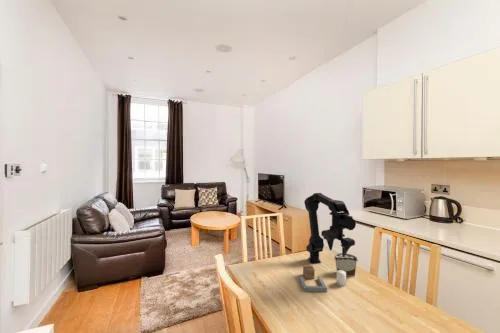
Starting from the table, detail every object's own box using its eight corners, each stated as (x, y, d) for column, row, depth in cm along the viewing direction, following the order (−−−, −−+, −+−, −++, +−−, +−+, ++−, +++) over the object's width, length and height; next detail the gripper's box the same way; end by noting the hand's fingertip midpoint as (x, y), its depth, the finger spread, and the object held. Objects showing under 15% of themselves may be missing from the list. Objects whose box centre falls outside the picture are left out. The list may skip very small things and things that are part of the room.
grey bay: (299, 279, 120) (299, 275, 120) (320, 279, 120) (320, 276, 120) (303, 291, 109) (303, 287, 109) (326, 291, 109) (326, 288, 109)
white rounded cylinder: (335, 281, 118) (335, 270, 118) (344, 281, 118) (344, 270, 118) (338, 286, 114) (338, 274, 113) (347, 286, 113) (347, 274, 113)
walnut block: (303, 274, 126) (303, 265, 126) (312, 274, 126) (312, 265, 126) (304, 278, 121) (304, 269, 121) (314, 279, 121) (314, 269, 121)
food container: (353, 270, 130) (353, 253, 130) (357, 275, 124) (357, 257, 124) (331, 269, 131) (331, 252, 131) (334, 274, 125) (334, 256, 125)
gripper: (313, 221, 127) (313, 249, 128) (339, 231, 110) (338, 263, 111) (329, 219, 132) (328, 246, 132) (356, 228, 115) (355, 259, 115)
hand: (336, 253), depth 123 cm, fingers open, 9 cm apart
